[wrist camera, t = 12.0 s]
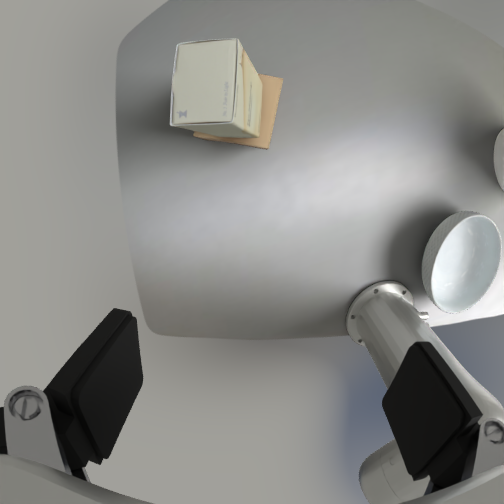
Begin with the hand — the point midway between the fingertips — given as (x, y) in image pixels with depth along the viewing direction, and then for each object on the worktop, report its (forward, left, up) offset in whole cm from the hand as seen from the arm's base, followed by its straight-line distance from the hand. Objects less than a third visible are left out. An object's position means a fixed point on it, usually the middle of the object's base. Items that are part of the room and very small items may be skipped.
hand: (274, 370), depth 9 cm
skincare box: (+3, -11, -23) cm, 26 cm away
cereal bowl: (-33, +4, -31) cm, 46 cm away
